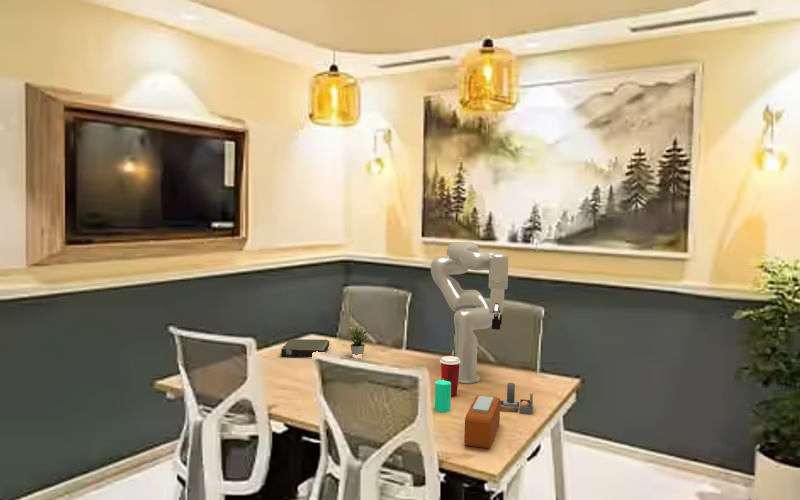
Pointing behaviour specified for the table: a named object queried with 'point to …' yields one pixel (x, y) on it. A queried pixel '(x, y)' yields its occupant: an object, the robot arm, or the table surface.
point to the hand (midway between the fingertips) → (496, 326)
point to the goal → (527, 409)
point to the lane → (508, 409)
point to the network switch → (303, 347)
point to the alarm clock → (482, 422)
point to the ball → (524, 404)
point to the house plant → (357, 340)
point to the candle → (442, 396)
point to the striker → (510, 396)
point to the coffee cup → (450, 372)
